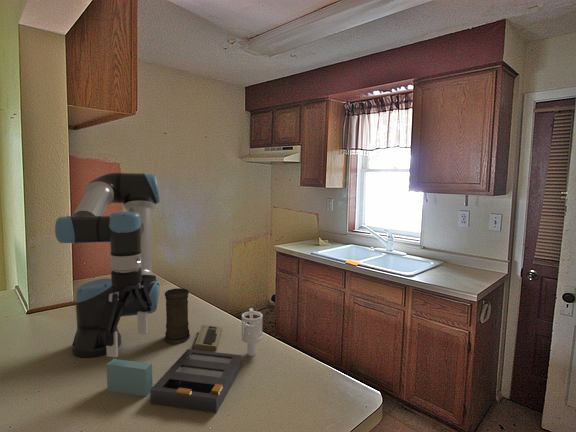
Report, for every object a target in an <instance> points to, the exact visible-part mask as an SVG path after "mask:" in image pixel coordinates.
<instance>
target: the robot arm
mask: <svg viewBox="0 0 576 432" xmlns="http://www.w3.org/2000/svg"><path fill="white" fill-rule="evenodd" d="M158 187H159V186H158V179H157V177H156V175H154V174H152V173H144V172H143V173H130V172H111V173H106V174H103V175H101V176H98V177H96V178H94V179H93V180H91V181H90V182H89V183H88V184H87V185H86V187H85V188H84V196H83V197H82V200H80V202H79V204H78V206H77V207H76V208H75V210H74V212H73V213H72V215H71V216H70V215H67V216H60V217H57V219H56V221H55V225H54V233H55V234H54V235H55V239H56V241H57V242H59V243H61V244H72V245H73V244H87V243H89V244H90V243H110V269H111V270H112V271H110V273H111V275H110V277H111V278H108V277H107V278H106V277H105V278H99V279H94V280H91V281H87V282H85V283H83V284H81V285H80V286H78V287H77V288H76V291H75V312H76V313H75V314H76V331H75V334H74V338H73V341H72V344H71V352H72V354H73V355H74V356H76V357H79V358H96V357H100V356H104V355H106V357H112V358H118V357H119V347H120V346H121V345H122V335H121V333H120V332H119V329H118V325H119V322H120V319H121V317H130V316H131V317H132V316H137V317H136V318H137V334H139V335H147V334H148V329H149V328H148V318H149V317H148V315H149V314H150V315H151V314H153V313H155V312H156V311H157V310H158V304H159V298H160V290H161V281H160V280H159V279H157V275H156V274H155V273H154V272H153V270H152V269H153V267H152V266H153V264H152V261H153V256H152V255H153V247H152V246H153V244H152V243H153V241H152V240H153V238H152V237H153V236H152V235H153V230H152V229H153V226H152V224H153V222H152V221H153V217H152V216H153V215H152V214H153V213H152V212H153V211H154V210H155V209H156V208H157V204H159V203H160V202H161V201H160V193H159V188H158ZM110 204H123V208H124V209H125V210H126V211H116V212H112V213H111V214H110V215H104V213H105V211H106V209H107V207H108V205H110Z"/></svg>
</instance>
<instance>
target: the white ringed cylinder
mask: <svg viewBox="0 0 576 432" xmlns="http://www.w3.org/2000/svg"><path fill="white" fill-rule="evenodd" d="M248 310H249V311H246V312H243V313H242V314H241V341H242V342H244V343H246V344H247V349H246V352H247V353H246V354H247V356H249V357H253V356H256V355H257V343H259V342H261V341H263V340H262V339H263V318H264V317H263V316H264V315H263V313H262V312H260V311H255V310H254V308H253V307H251V308H249V309H248ZM246 316H249V318H248V317H246ZM254 316H258V317H257V318H256V317H255V318H254ZM247 323H248V324H247Z"/></svg>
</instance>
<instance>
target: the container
mask: <svg viewBox="0 0 576 432" xmlns="http://www.w3.org/2000/svg"><path fill="white" fill-rule="evenodd" d="M189 294H190V292H189V290H188V289H186V288H171V289H167V290H166V291H165V293H164V297H165V313H166V315H165V316H166V317H165V318H166V319H165V320H166V323H165V328H166V329H165V330H166V331H165V336H164V340H165V342H167V343H168V344H172V345H174V344H175V345H176V344H182V343H185V342H186V341H188V340H189V339H190V337H191V333H190V329H189V315H188V314H189V313H188V312H189V311H188V310H189V305H188V304H189V301H188V298H189Z"/></svg>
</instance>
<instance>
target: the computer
mask: <svg viewBox="0 0 576 432" xmlns="http://www.w3.org/2000/svg"><path fill="white" fill-rule="evenodd" d="M222 329H223V328H222V326H219V325H218V326H217V325H211V324H203V325H201V327H200V330H199V332H198V334H197V337H196V338H195V339H196V340H195V342H194V344H193V349H192V350H200V351H209V352H217V349H218V346H219V342H220V338H221V335H222Z"/></svg>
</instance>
